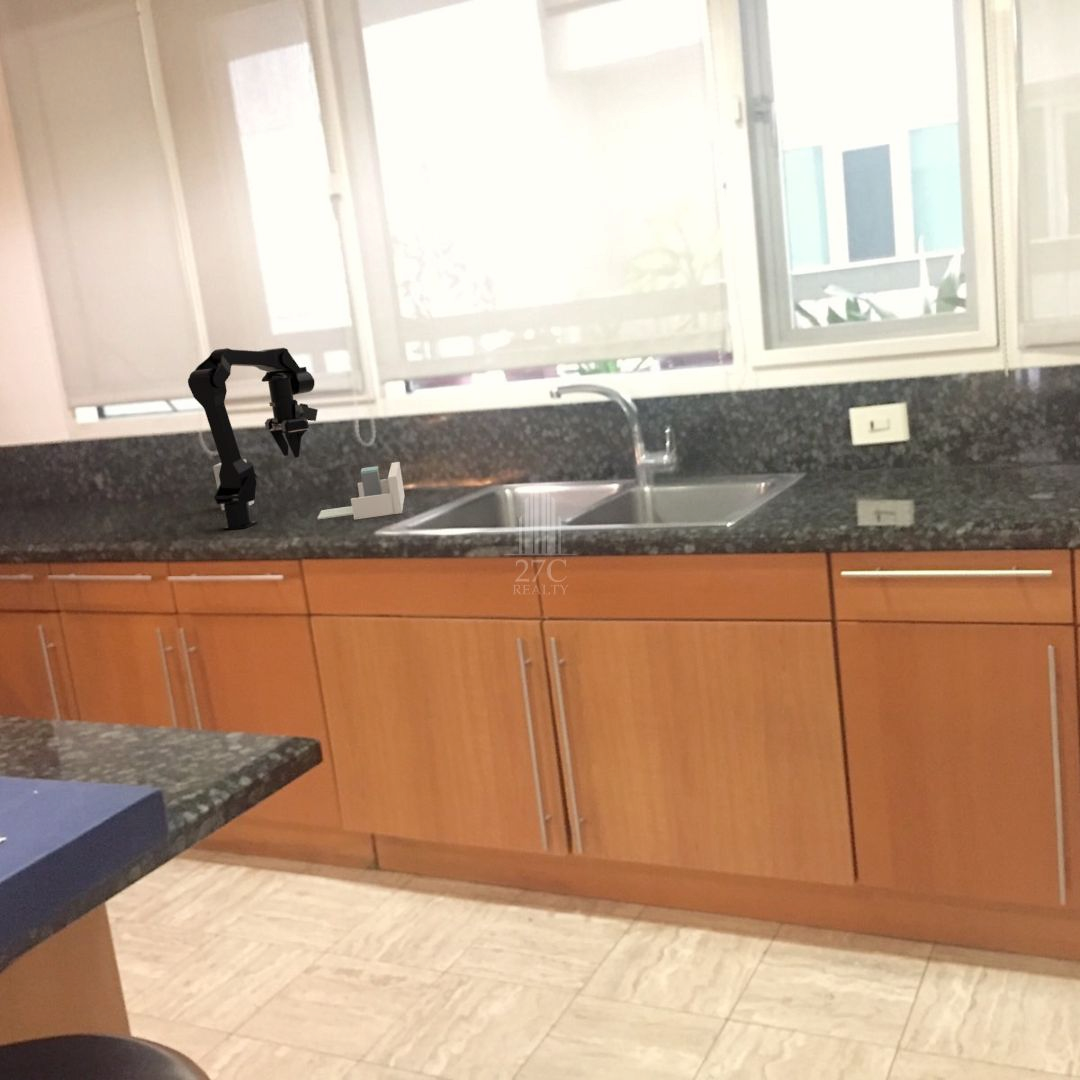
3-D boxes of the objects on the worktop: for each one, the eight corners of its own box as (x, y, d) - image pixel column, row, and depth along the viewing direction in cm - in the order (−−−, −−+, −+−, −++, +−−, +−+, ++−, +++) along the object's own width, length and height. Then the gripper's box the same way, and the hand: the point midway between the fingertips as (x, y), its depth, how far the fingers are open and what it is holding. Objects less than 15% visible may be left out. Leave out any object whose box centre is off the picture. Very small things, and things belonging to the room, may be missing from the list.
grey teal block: (366, 511, 295) (360, 471, 293) (368, 507, 301) (362, 468, 299) (382, 508, 295) (376, 469, 293) (384, 504, 301) (377, 466, 299)
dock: (354, 519, 285) (348, 482, 283) (360, 501, 311) (355, 467, 309) (401, 512, 286) (396, 476, 284) (404, 495, 311) (399, 461, 309)
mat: (317, 519, 292) (317, 518, 292) (321, 511, 303) (321, 510, 303) (358, 513, 293) (357, 512, 292) (360, 506, 303) (360, 504, 303)
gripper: (323, 393, 305) (332, 453, 308) (300, 392, 321) (309, 450, 324) (281, 399, 299) (290, 460, 302) (260, 398, 316) (269, 456, 319)
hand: (291, 456), depth 312 cm, fingers open, 9 cm apart
